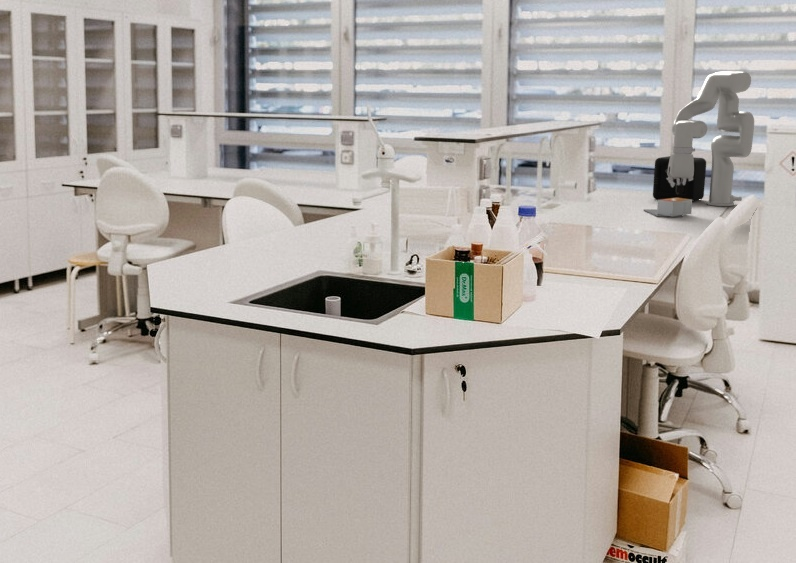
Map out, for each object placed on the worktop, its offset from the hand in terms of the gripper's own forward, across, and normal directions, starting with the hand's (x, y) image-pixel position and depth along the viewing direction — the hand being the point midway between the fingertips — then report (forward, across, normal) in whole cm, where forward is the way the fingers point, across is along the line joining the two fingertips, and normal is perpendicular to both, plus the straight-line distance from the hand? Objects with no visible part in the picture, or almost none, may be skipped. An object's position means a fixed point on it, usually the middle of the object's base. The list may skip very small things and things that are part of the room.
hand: (679, 194), depth 391 cm
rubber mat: (+8, +7, 0) cm, 11 cm away
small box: (+5, -2, +2) cm, 5 cm away
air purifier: (+9, -15, -45) cm, 48 cm away
